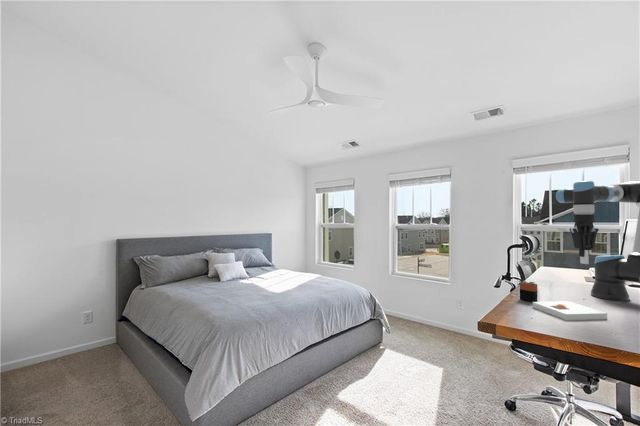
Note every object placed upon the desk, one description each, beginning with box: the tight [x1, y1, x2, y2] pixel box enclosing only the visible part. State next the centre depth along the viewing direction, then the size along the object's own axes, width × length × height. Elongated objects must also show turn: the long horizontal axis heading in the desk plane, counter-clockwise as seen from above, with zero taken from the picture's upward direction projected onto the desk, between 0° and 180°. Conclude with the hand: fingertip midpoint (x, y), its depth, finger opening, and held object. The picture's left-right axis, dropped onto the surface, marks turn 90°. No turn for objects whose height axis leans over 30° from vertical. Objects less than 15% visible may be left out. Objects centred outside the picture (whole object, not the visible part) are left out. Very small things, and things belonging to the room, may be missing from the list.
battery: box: [519, 280, 538, 303], centre depth 156 cm, size 4×7×10 cm, turn 35°
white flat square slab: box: [532, 300, 608, 321], centre depth 136 cm, size 19×18×2 cm
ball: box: [556, 304, 567, 310], centre depth 136 cm, size 4×4×4 cm
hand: (584, 263), depth 140 cm, fingers closed
